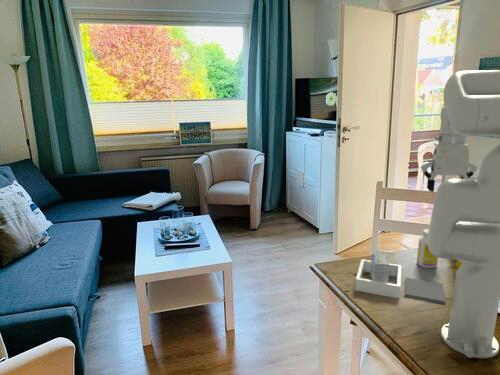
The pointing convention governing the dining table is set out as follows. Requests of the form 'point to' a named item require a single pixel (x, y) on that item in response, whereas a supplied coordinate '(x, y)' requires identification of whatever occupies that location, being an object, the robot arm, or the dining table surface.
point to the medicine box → (379, 268)
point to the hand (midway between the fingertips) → (445, 190)
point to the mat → (424, 290)
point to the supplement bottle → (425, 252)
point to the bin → (377, 286)
